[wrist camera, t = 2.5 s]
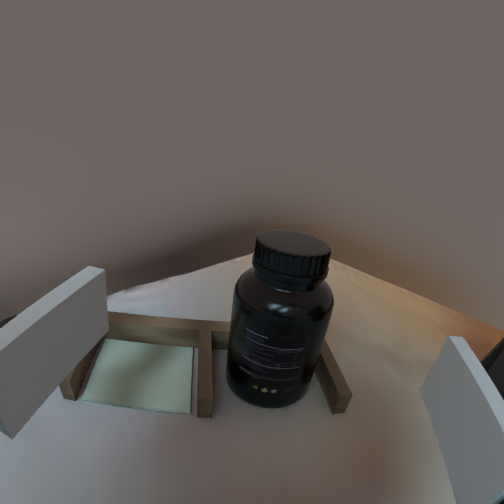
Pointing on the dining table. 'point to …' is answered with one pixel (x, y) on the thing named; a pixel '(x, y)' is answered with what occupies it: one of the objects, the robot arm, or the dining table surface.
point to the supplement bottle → (279, 319)
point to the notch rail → (170, 366)
